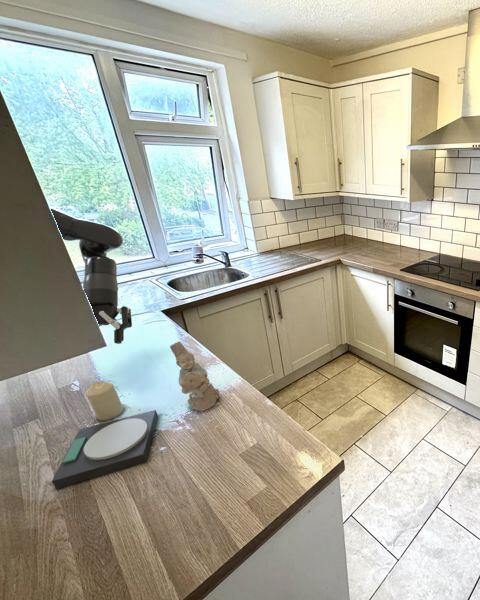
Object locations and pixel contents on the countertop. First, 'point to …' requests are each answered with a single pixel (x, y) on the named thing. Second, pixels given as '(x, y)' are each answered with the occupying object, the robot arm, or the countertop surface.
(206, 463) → the countertop surface
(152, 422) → the kitchen scale
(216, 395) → the figurine
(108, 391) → the candle
